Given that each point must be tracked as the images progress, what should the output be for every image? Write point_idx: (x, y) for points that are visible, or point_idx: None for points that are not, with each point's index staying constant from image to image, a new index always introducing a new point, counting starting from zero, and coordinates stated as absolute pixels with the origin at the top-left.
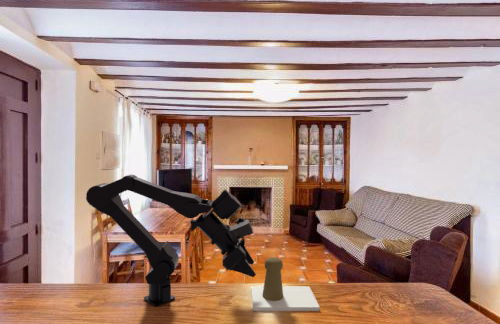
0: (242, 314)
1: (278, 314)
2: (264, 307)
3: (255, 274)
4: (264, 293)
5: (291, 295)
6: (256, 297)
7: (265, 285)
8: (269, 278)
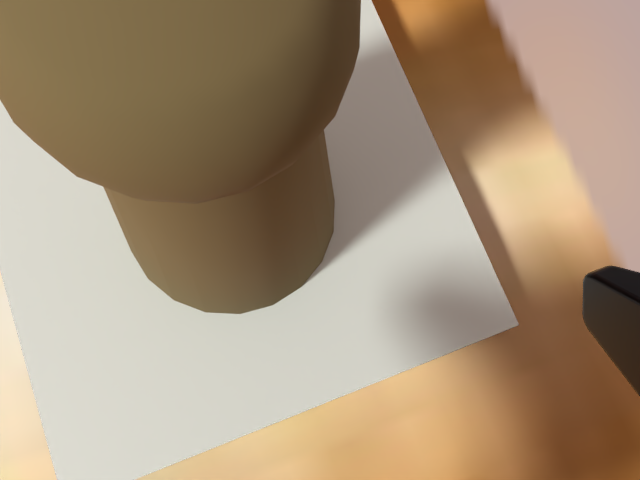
0: (601, 398)
1: (469, 118)
2: (472, 228)
3: (615, 269)
4: (302, 268)
5: None
6: (318, 356)
7: (295, 240)
8: (318, 149)
